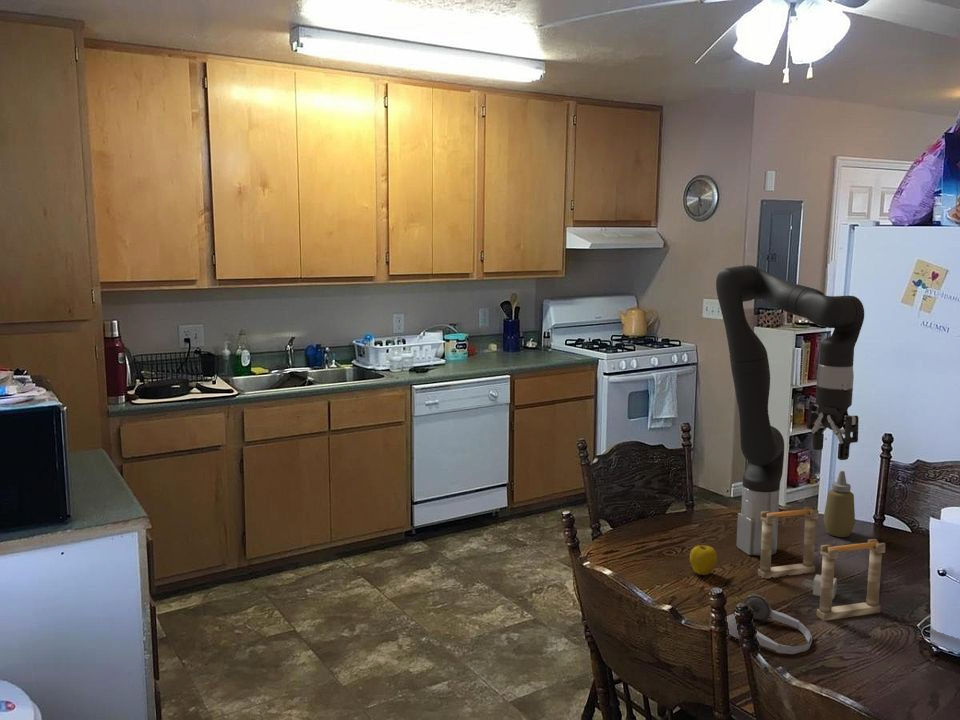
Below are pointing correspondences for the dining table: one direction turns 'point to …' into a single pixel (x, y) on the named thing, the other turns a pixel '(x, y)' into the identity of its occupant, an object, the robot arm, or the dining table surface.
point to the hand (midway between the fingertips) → (830, 454)
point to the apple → (703, 559)
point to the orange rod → (854, 546)
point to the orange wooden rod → (790, 513)
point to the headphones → (764, 611)
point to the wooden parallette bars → (827, 569)
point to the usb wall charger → (819, 585)
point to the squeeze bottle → (839, 508)
